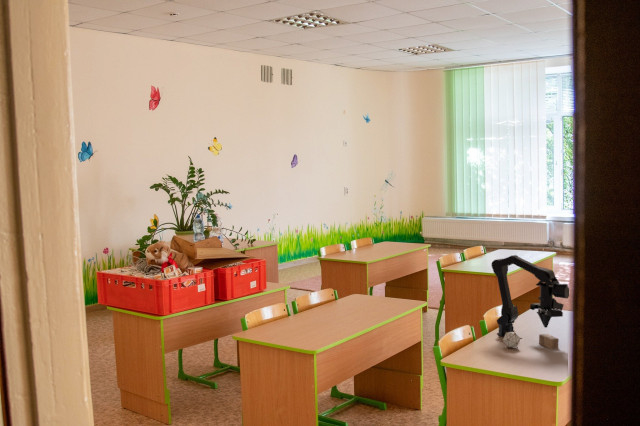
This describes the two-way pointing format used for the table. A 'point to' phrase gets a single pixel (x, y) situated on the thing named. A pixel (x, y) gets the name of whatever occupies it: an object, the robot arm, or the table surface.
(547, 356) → the table surface
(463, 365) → the table surface
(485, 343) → the table surface
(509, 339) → the game die
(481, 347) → the table surface
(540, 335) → the brown rectangular block
